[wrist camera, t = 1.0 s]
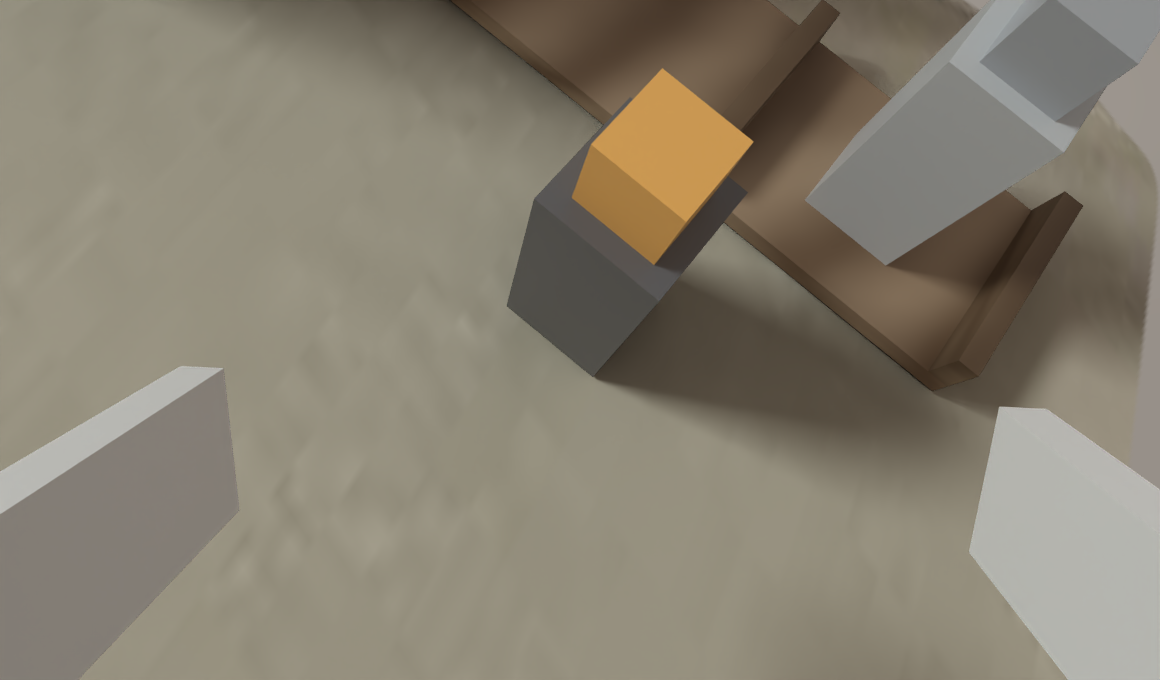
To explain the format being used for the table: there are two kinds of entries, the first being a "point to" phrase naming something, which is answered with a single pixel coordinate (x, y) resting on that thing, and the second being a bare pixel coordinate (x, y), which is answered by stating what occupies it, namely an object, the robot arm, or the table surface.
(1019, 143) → the grey plug
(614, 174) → the charcoal plug
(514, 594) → the table surface
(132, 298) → the table surface
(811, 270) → the brown wooden tray
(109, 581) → the robot arm
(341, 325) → the table surface
